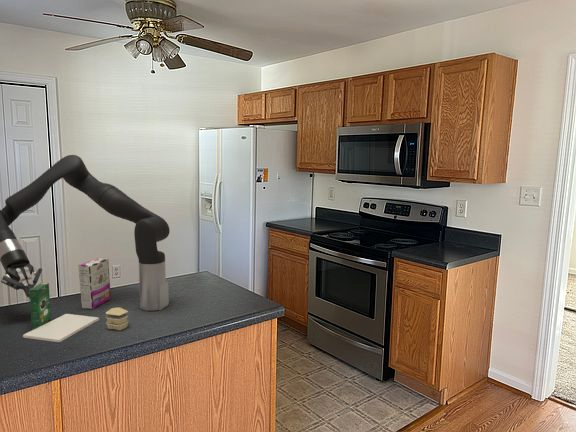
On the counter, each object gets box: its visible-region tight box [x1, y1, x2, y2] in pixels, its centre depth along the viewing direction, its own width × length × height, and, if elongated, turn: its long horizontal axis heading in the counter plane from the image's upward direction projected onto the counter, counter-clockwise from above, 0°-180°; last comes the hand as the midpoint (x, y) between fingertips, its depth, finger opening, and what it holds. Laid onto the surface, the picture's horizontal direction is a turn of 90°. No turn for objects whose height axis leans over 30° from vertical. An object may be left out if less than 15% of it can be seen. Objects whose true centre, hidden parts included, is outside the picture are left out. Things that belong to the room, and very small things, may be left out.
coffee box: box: [29, 282, 52, 330], centre depth 138 cm, size 8×3×13 cm, turn 5°
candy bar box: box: [78, 257, 112, 310], centre depth 157 cm, size 11×5×16 cm, turn 168°
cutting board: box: [22, 313, 100, 343], centre depth 136 cm, size 13×18×1 cm
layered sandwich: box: [105, 307, 130, 331], centre depth 138 cm, size 10×9×6 cm
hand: (32, 296), depth 140 cm, fingers closed
